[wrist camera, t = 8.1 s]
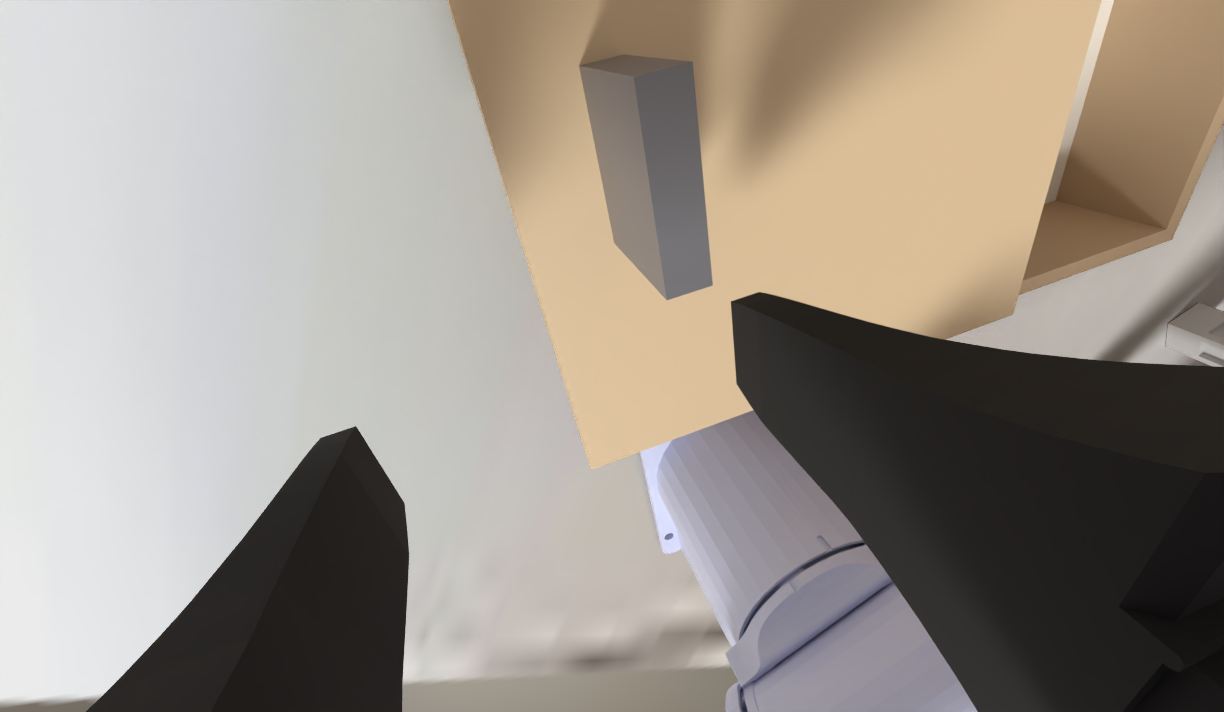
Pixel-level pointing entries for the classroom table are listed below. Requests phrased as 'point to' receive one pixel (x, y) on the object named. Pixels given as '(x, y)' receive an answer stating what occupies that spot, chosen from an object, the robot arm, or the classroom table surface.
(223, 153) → the classroom table surface
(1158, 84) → the tan shallow tray
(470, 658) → the classroom table surface
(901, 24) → the lid
